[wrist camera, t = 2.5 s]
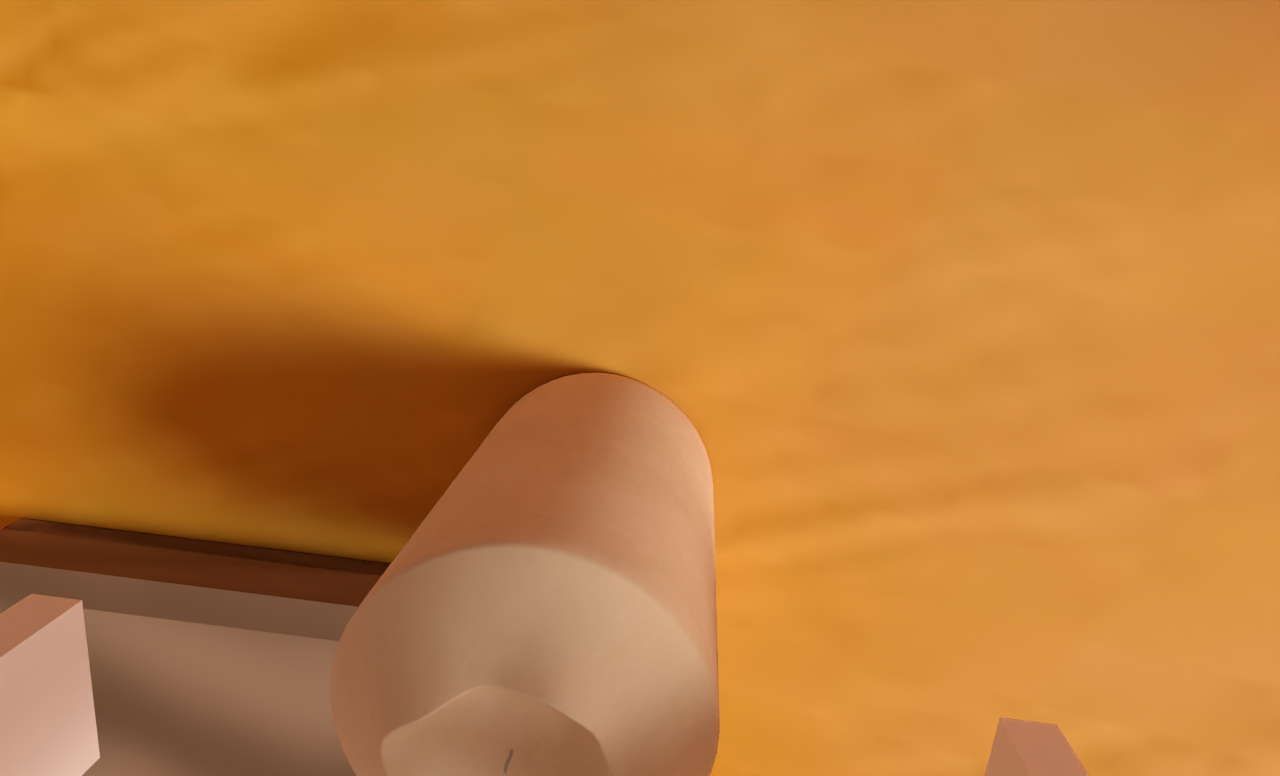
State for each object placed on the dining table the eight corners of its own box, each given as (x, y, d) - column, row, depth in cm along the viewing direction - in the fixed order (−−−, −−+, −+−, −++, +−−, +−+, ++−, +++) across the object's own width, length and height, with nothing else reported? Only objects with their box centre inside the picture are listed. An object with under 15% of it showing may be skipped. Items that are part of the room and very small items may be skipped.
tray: (21, 518, 21) (-48, 555, 19) (472, 573, 20) (448, 618, 18) (74, 873, 24) (21, 935, 22) (460, 929, 24) (439, 996, 22)
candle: (443, 491, 20) (197, 814, 10) (576, 321, 18) (433, 511, 9) (619, 619, 20) (543, 1035, 11) (760, 465, 19) (819, 790, 9)
